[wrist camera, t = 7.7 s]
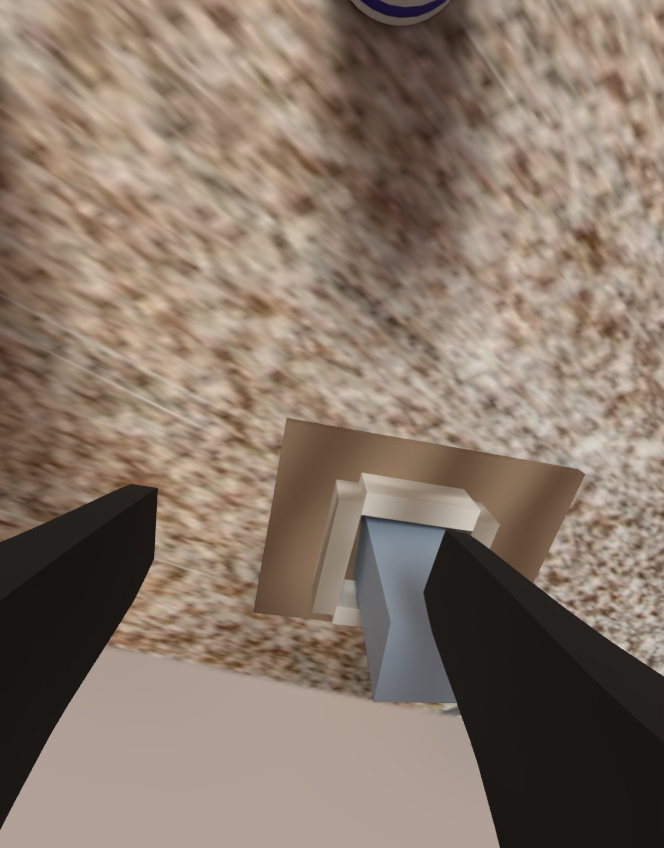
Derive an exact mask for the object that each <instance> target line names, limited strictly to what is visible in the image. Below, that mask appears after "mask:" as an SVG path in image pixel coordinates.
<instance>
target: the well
mask: <svg viewBox="0 0 664 848" xmlns="http://www.w3.org/2000/svg"><path fill="white" fill-rule="evenodd" d="M584 476H585V474H584V473H583V472H581V471H579V470H578V469H574V468H568V467H562V466H557V465H551V464H545V463H540V462H534V461H528V460H522V459H517V458H511V457H505V456H500V455H494V454H488V453H483V452H477V451H471V450H465V449H460V448H454V447H448V446H443V445H437V444H431V443H426V442H420V441H414V440H409V439H403V438H397V437H391V436H386V435H380V434H374V433H369V432H363V431H357V430H352V429H346V428H340V427H335V426H329V425H323V424H317V423H312V422H306V421H300V420H295V419H289V418H287V421H286V426H285V432H284V438H283V444H282V449H281V455H280V461H279V467H278V473H277V479H276V484H275V490H274V496H273V502H272V508H271V514H270V519H269V525H268V531H267V537H266V543H265V549H264V554H263V560H262V566H261V572H260V578H259V584H258V589H257V595H256V601H255V607H254V613H263V614H272V615H281V616H290V617H299V618H308V619H317V620H326V621H332V624H338V625H347V626H356V627H362V620H361V614H360V607H359V600H358V594H357V587H356V581H355V574H354V566H355V560H356V554H357V548H358V541H359V535H360V529H361V523H362V516H363V515H366V516H372V517H379V518H386V519H393V520H399V521H406V522H413V523H420V524H426V525H433V526H440V527H444V528H445V530H448V531H454V532H461V533H468V534H469V535H471V536H472V537H474V538H475V539H477V540H478V541H480V542H481V543H482V544H484V545H485V546H486V547H488V548H489V549H490V550H491V551H493V552H494V553H495V554H497V555H498V556H499V557H500V558H502V559H503V560H504V561H505V562H507V563H508V564H509V565H511V566H512V567H513V568H514V569H516V570H517V571H518V572H519V573H521V574H522V575H523V576H524V577H526V578H527V579H528V580H529V581H531V582H532V583H533V582H534V580H535V578H536V576H537V574H538V572H539V570H540V568H541V565H542V563H543V561H544V559H545V557H546V555H547V553H548V551H549V549H550V547H551V545H552V542H553V540H554V538H555V536H556V534H557V532H558V530H559V528H560V526H561V524H562V522H563V519H564V517H565V515H566V513H567V511H568V509H569V507H570V505H571V503H572V501H573V499H574V496H575V494H576V492H577V490H578V488H579V486H580V484H581V482H582V480H583V478H584Z"/></svg>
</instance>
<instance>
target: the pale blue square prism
mask: <svg viewBox="0 0 664 848" xmlns="http://www.w3.org/2000/svg"><path fill="white" fill-rule="evenodd" d="M444 532H445V528H444V527H440V526H433V525H426V524H420V523H413V522H406V521H399V520H393V519H386V518H379V517H372V516H366V515H363V516H362V523H361V529H360V535H359V541H358V548H357V554H356V560H355V566H354V574H355V581H356V587H357V594H358V600H359V607H360V614H361V620H362V627H363V633H364V640H365V647H366V653H367V660H368V666H369V673H370V679H371V686H372V693H373V699H374V702H421V703H457V702H456V699H455V696H454V694H453V691H452V688H451V685H450V683H449V680H448V677H447V674H446V671H445V669H444V666H443V663H442V660H441V657H440V654H439V652H438V649H437V646H436V643H435V640H434V637H433V634H432V630H431V626H430V622H429V618H428V614H427V609H426V604H425V599H424V594H423V591H424V588H425V585H426V583H427V580H428V577H429V574H430V572H431V569H432V566H433V563H434V560H435V558H436V555H437V552H438V549H439V546H440V544H441V541H442V538H443V535H444Z"/></svg>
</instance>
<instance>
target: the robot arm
mask: <svg viewBox="0 0 664 848" xmlns="http://www.w3.org/2000/svg"><path fill="white" fill-rule="evenodd" d="M157 493H158V488H154V487H147V486H140V485H134V484H130V485H127V486H125V487H122V488H120V489H118V490H115V491H113V492H111V493H109V494H107V495H105V496H102V497H100V498H98V499H96V500H94V501H92V502H90V503H88V504H85V505H83V506H81V507H79V508H77V509H75V510H73V511H70V512H68V513H66V514H64V515H62V516H60V517H57V518H55V519H53V520H51V521H49V522H47V523H44V524H42V525H40V526H38V527H35V528H33V529H31V530H28V531H26V532H24V533H21V534H19V535H17V536H14V537H12V538H9V539H7V540H5V541H2V542H0V829H1V827H2V825H3V823H4V821H5V819H6V817H7V816H8V814H9V812H10V810H11V808H12V806H13V804H14V802H15V800H16V798H17V796H18V795H19V793H20V791H21V789H22V787H23V785H24V783H25V781H26V779H27V778H28V776H29V774H30V772H31V770H32V768H33V766H34V764H35V763H36V761H37V759H38V757H39V755H40V753H41V751H42V749H43V747H44V746H45V744H46V742H47V740H48V738H49V736H50V734H51V733H52V731H53V729H54V728H55V726H56V724H57V723H58V721H59V719H60V718H61V716H62V714H63V712H64V710H65V709H66V707H67V706H68V704H69V703H70V701H71V699H72V698H73V696H74V695H75V693H76V692H77V690H78V688H79V687H80V685H81V684H82V682H83V680H84V679H85V677H86V676H87V674H88V673H89V671H90V669H91V668H92V666H93V665H94V663H95V662H96V660H97V658H98V657H99V655H100V654H101V652H102V651H103V649H104V647H105V646H106V644H107V643H108V641H109V640H110V638H111V636H112V635H113V633H114V632H115V630H116V628H117V627H118V625H119V624H120V622H121V621H122V619H123V617H124V616H125V614H126V613H127V611H128V609H129V608H130V606H131V604H132V603H133V601H134V600H135V598H136V596H137V593H138V591H139V589H140V587H141V585H142V583H143V581H144V579H145V577H146V575H147V573H148V571H149V568H150V566H151V564H152V562H153V560H154V551H155V531H156V512H157ZM423 594H424V599H425V604H426V609H427V614H428V618H429V622H430V626H431V630H432V634H433V637H434V640H435V643H436V646H437V649H438V652H439V654H440V657H441V660H442V663H443V666H444V669H445V671H446V674H447V677H448V680H449V683H450V685H451V688H452V691H453V694H454V696H455V699H456V702H457V705H458V708H459V710H460V713H461V716H462V719H463V721H464V724H465V727H466V730H467V733H468V735H469V738H470V741H471V745H472V748H473V751H474V754H475V757H476V760H477V763H478V766H479V770H480V774H481V778H482V781H483V785H484V789H485V792H486V796H487V800H488V804H489V807H490V811H491V815H492V818H493V822H494V825H495V830H496V833H497V838H498V842H499V846H500V848H664V676H662V675H661V674H659V673H658V672H656V671H655V670H653V669H652V668H650V667H649V666H647V665H646V664H644V663H642V662H641V661H639V660H638V659H636V658H635V657H633V656H632V655H630V654H629V653H627V652H626V651H624V650H623V649H621V648H620V647H618V646H617V645H615V644H614V643H613V642H611V641H610V640H608V639H607V638H605V637H604V636H603V635H601V634H600V633H598V632H597V631H596V630H594V629H593V628H591V627H590V626H589V625H587V624H586V623H585V622H583V621H582V620H581V619H579V618H578V617H576V616H575V615H574V614H572V613H571V612H570V611H568V610H567V609H566V608H564V607H563V606H562V605H560V604H559V603H558V602H556V601H555V600H554V599H552V598H551V597H550V596H549V595H547V594H546V593H545V592H543V591H542V590H541V589H540V588H538V587H537V586H536V585H535V584H533V583H532V582H531V581H529V580H528V579H527V578H526V577H524V576H523V575H522V574H521V573H519V572H518V571H517V570H516V569H514V568H513V567H512V566H511V565H509V564H508V563H507V562H505V561H504V560H503V559H502V558H500V557H499V556H498V555H497V554H495V553H494V552H493V551H491V550H490V549H489V548H488V547H486V546H485V545H484V544H482V543H481V542H480V541H478V540H477V539H475V538H474V537H472V536H471V535H469V534H468V533H461V532H454V531H448V530H445V532H444V535H443V538H442V541H441V544H440V546H439V549H438V552H437V555H436V558H435V560H434V563H433V566H432V569H431V572H430V574H429V577H428V580H427V583H426V585H425V588H424V591H423Z"/></svg>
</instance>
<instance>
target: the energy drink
mask: <svg viewBox="0 0 664 848" xmlns="http://www.w3.org/2000/svg"><path fill="white" fill-rule="evenodd" d="M351 1H352V2H353V3H354V5H355V6H356V7H357V8H358V9H360V10H361V11H362V12H364V13H365V14H366V15H368V16H369V17H370V18H372V19H375V20H377V21H379V22H381V23H384V24H390V25H396V26H403V25H413V24H416V23H419V22H421V21H424V20H427V19H429V18H430V17H432V16H433V15H435V14H436V13H438V12H439V11H441V10H442V9H443V8H444V7H445V6H446V5H447V4H448V3H449V2H450V1H451V0H351Z"/></svg>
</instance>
